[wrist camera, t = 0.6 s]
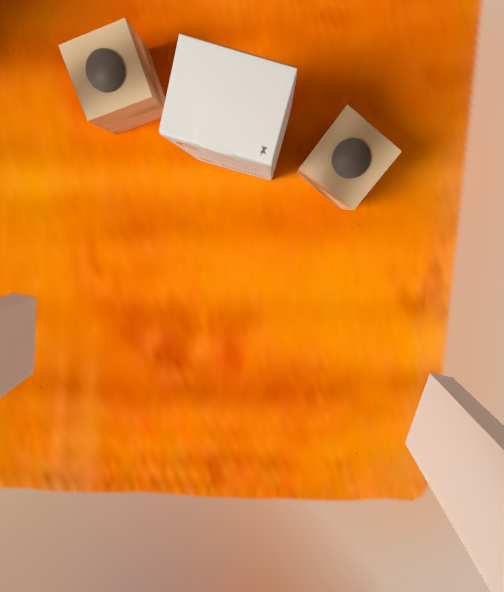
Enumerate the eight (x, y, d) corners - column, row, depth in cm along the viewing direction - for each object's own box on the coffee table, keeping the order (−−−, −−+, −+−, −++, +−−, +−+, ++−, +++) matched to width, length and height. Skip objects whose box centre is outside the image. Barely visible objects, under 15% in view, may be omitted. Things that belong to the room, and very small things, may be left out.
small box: (290, 116, 35) (301, 66, 23) (271, 181, 37) (273, 169, 24) (210, 93, 35) (176, 29, 22) (195, 159, 37) (156, 135, 24)
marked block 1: (93, 71, 35) (56, 44, 29) (149, 49, 34) (123, 16, 28) (116, 134, 36) (86, 120, 30) (171, 114, 36) (151, 96, 30)
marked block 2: (295, 172, 36) (300, 165, 30) (334, 121, 35) (347, 103, 29) (340, 209, 37) (354, 209, 31) (380, 160, 36) (402, 150, 30)
